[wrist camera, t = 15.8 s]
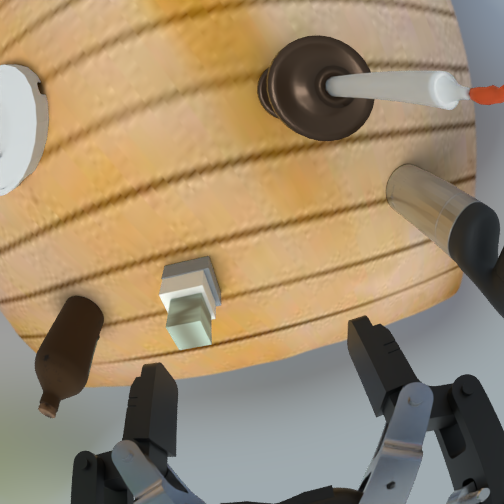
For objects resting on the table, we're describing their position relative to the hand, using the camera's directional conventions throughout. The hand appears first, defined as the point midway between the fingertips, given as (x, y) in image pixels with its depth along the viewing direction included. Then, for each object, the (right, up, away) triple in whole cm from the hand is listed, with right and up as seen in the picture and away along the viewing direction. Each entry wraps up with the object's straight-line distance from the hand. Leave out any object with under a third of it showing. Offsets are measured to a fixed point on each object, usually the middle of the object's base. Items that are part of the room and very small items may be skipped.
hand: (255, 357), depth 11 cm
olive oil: (-35, -8, +39) cm, 54 cm away
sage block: (-9, -4, +31) cm, 33 cm away
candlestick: (+5, +27, +24) cm, 36 cm away
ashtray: (-43, +26, +18) cm, 54 cm away
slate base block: (-10, 0, +38) cm, 40 cm away
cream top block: (-10, -2, +35) cm, 36 cm away
